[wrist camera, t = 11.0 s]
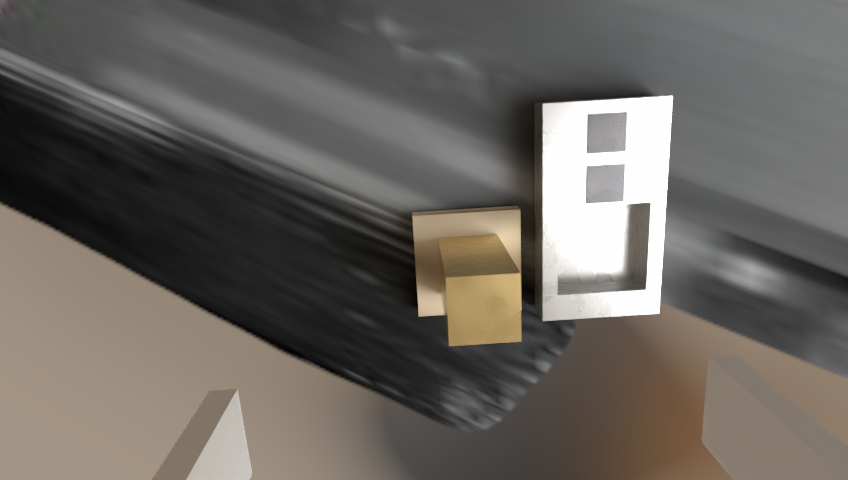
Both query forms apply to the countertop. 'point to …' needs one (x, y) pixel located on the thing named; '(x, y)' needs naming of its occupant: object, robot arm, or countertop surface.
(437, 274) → the coaster
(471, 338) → the block
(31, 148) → the countertop surface
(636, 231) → the white recessed slab
